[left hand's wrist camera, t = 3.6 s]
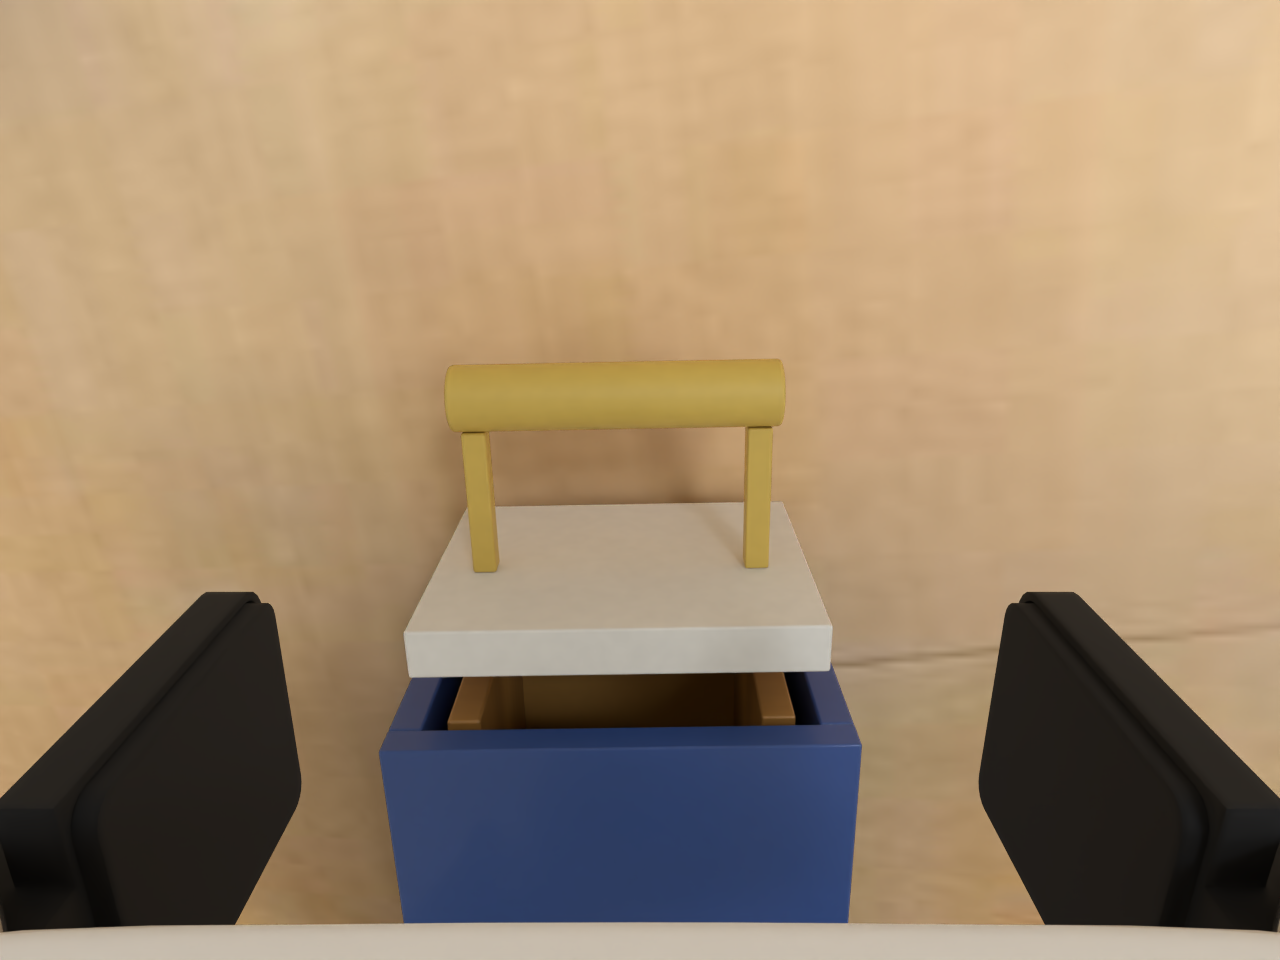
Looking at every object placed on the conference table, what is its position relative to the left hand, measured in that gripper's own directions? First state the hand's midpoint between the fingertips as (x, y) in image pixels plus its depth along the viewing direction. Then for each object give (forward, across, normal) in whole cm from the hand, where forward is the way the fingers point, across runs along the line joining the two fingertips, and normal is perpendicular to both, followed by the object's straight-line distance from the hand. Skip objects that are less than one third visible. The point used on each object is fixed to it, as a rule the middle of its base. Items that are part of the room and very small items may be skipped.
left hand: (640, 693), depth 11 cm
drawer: (+15, 0, +10) cm, 18 cm away
